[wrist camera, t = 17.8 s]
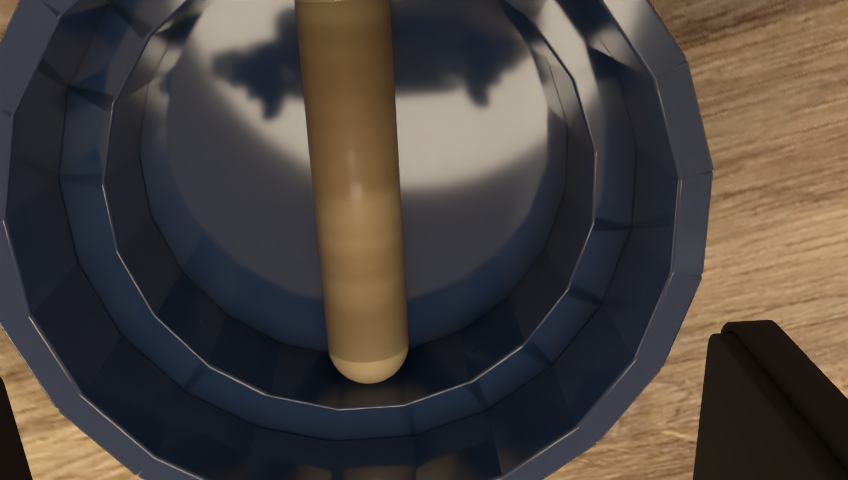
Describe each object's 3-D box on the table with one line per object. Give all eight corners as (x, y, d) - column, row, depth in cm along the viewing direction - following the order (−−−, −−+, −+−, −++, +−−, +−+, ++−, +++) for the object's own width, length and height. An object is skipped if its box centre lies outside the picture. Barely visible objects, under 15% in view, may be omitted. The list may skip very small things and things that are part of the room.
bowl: (20, -120, 20) (-136, -141, 14) (639, -148, 20) (750, -180, 14) (136, 409, 26) (62, 555, 20) (611, 377, 26) (680, 509, 20)
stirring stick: (293, -51, 20) (284, -51, 18) (385, -55, 20) (387, -56, 18) (332, 360, 24) (330, 402, 22) (408, 355, 25) (412, 396, 22)
